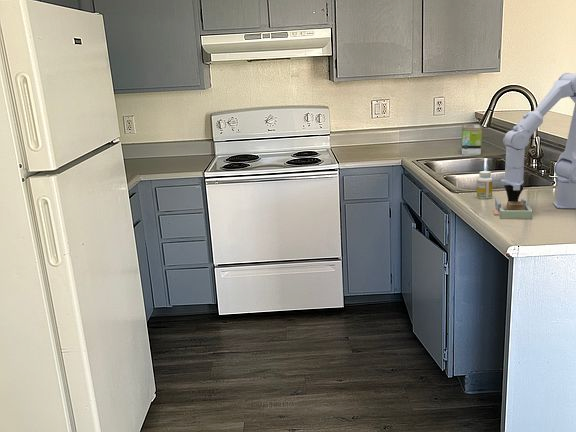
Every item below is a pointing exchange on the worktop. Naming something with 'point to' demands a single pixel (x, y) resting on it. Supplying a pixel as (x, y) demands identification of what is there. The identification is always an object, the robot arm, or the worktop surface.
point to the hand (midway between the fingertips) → (512, 206)
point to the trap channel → (513, 211)
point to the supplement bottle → (484, 185)
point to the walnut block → (515, 205)
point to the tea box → (471, 139)
